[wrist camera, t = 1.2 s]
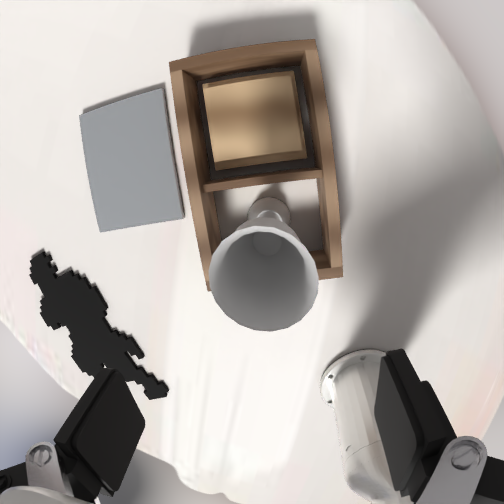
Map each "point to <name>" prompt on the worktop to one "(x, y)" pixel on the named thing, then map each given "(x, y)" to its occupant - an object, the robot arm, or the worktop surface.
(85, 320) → the black silhouette cutout
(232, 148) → the oak offcut top
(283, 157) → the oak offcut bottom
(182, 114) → the walnut crate
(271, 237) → the chalice
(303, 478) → the worktop surface
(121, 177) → the slate mat
